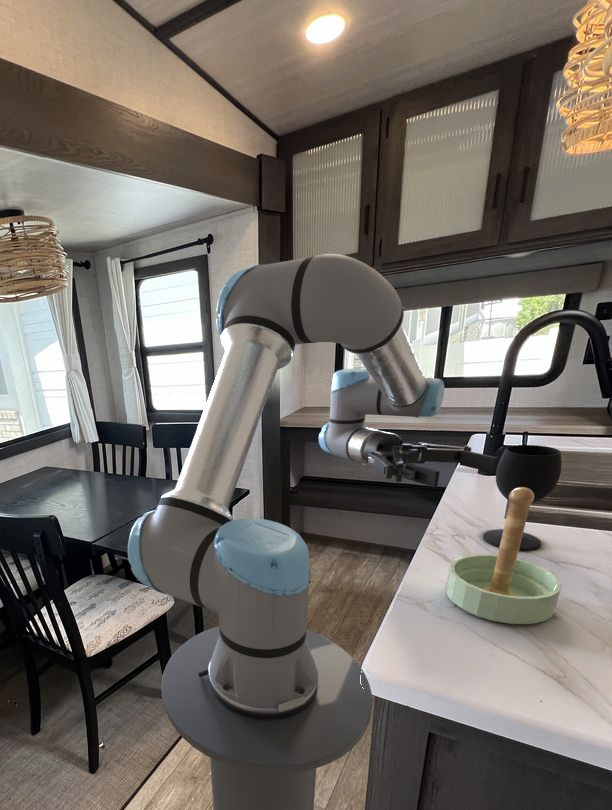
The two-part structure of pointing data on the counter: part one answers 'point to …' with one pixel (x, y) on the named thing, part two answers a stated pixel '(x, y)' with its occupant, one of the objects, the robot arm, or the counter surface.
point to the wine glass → (526, 481)
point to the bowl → (527, 606)
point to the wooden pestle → (511, 540)
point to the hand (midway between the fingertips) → (467, 472)
